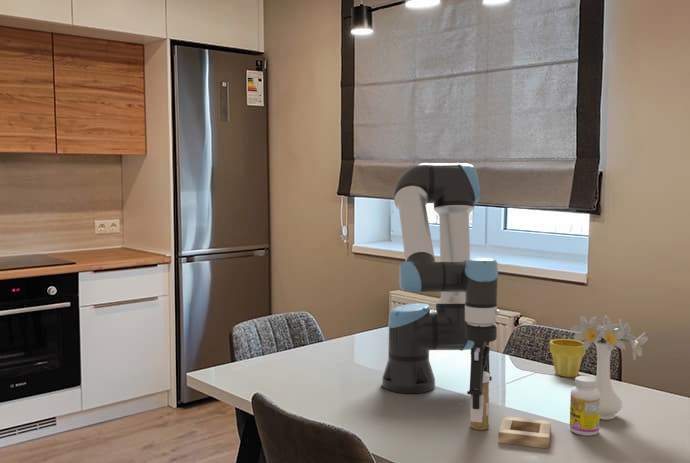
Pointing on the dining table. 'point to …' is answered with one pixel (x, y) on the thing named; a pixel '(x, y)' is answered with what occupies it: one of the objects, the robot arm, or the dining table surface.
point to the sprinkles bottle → (484, 405)
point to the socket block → (525, 432)
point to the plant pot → (567, 356)
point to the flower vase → (607, 356)
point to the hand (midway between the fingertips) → (479, 413)
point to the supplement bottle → (585, 407)
